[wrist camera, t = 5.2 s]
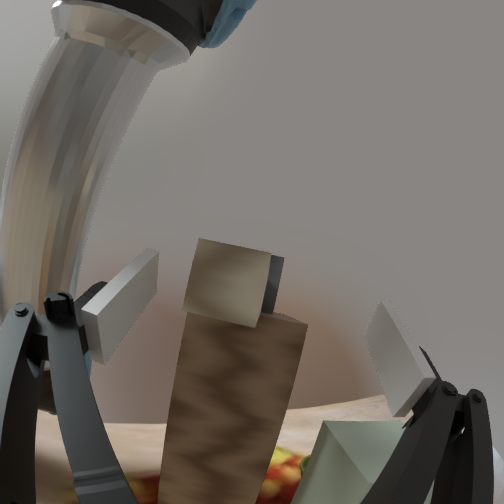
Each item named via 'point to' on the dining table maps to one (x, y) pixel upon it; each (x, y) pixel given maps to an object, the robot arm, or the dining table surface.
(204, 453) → the stand tall
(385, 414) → the dining table surface
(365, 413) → the dining table surface
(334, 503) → the pale green block
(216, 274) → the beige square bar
